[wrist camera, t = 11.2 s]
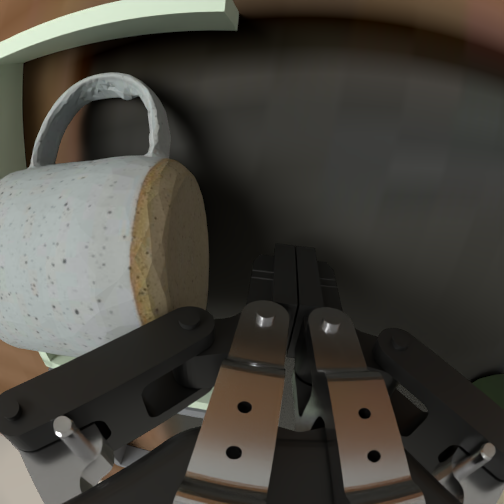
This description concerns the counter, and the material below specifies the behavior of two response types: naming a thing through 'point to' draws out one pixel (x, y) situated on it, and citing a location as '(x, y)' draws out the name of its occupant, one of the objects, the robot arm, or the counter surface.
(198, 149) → the counter surface
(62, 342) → the ceramic mug
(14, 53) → the corral green
